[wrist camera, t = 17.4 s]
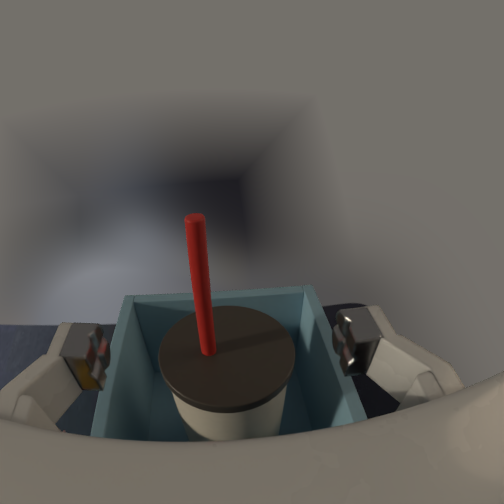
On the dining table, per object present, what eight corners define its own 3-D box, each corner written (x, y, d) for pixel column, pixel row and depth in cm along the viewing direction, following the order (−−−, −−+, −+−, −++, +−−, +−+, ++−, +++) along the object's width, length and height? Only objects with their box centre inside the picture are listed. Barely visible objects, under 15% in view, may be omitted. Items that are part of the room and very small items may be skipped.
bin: (300, 361, 28) (312, 284, 23) (345, 524, 14) (394, 491, 10) (149, 371, 26) (124, 295, 22) (137, 539, 13) (79, 512, 8)
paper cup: (271, 403, 23) (288, 182, 14) (286, 475, 17) (340, 259, 9) (189, 409, 22) (143, 189, 13) (191, 483, 17) (103, 273, 8)
